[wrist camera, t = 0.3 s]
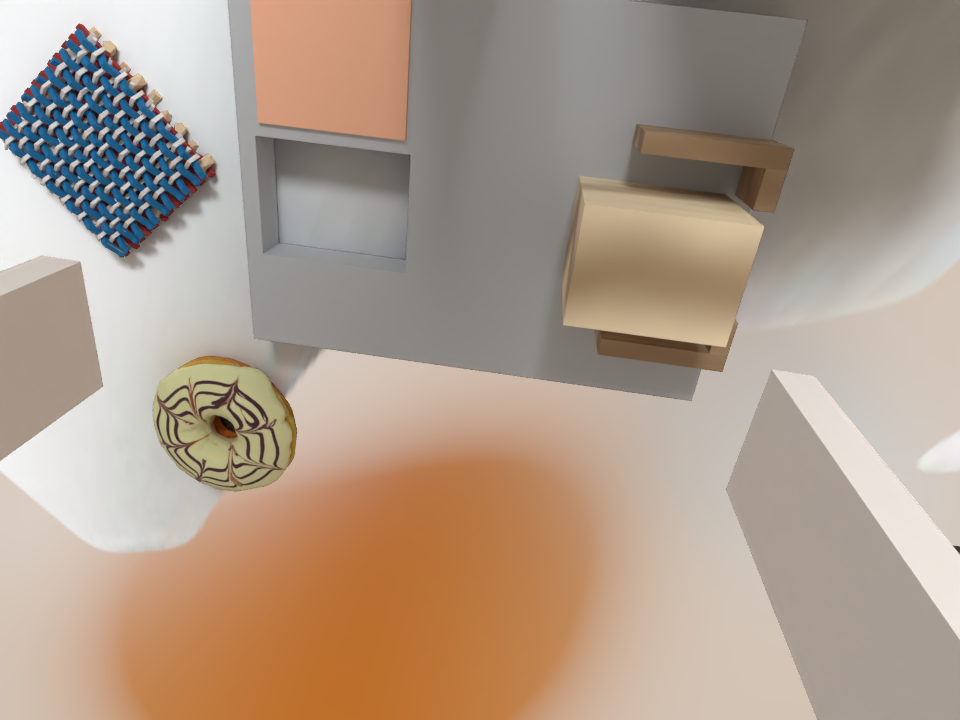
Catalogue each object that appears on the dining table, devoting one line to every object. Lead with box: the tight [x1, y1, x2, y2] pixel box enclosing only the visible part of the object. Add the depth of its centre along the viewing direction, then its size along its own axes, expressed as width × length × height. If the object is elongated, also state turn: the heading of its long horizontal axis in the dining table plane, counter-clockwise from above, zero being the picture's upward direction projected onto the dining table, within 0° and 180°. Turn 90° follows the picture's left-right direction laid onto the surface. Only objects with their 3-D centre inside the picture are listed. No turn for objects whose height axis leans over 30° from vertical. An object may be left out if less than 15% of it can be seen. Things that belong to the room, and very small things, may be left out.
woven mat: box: [0, 24, 216, 257], centre depth 38 cm, size 10×11×2 cm
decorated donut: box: [153, 356, 297, 491], centre depth 45 cm, size 10×11×4 cm
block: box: [562, 176, 764, 347], centre depth 32 cm, size 6×8×7 cm
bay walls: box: [594, 124, 794, 372], centre depth 33 cm, size 12×7×4 cm, turn 174°
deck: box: [228, 0, 808, 401], centre depth 36 cm, size 22×29×3 cm
